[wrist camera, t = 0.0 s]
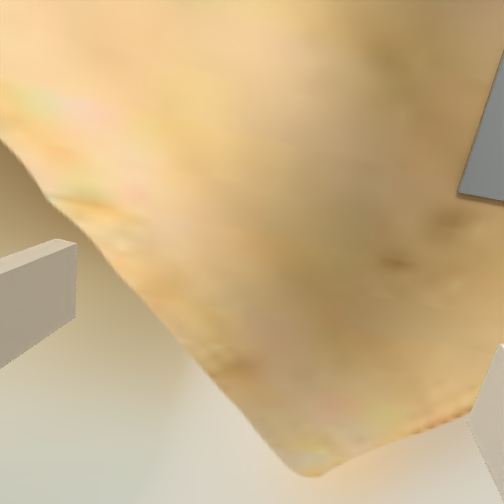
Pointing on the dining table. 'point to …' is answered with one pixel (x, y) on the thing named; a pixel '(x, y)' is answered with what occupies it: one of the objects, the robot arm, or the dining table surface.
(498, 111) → the rubber mat
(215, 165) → the dining table surface
